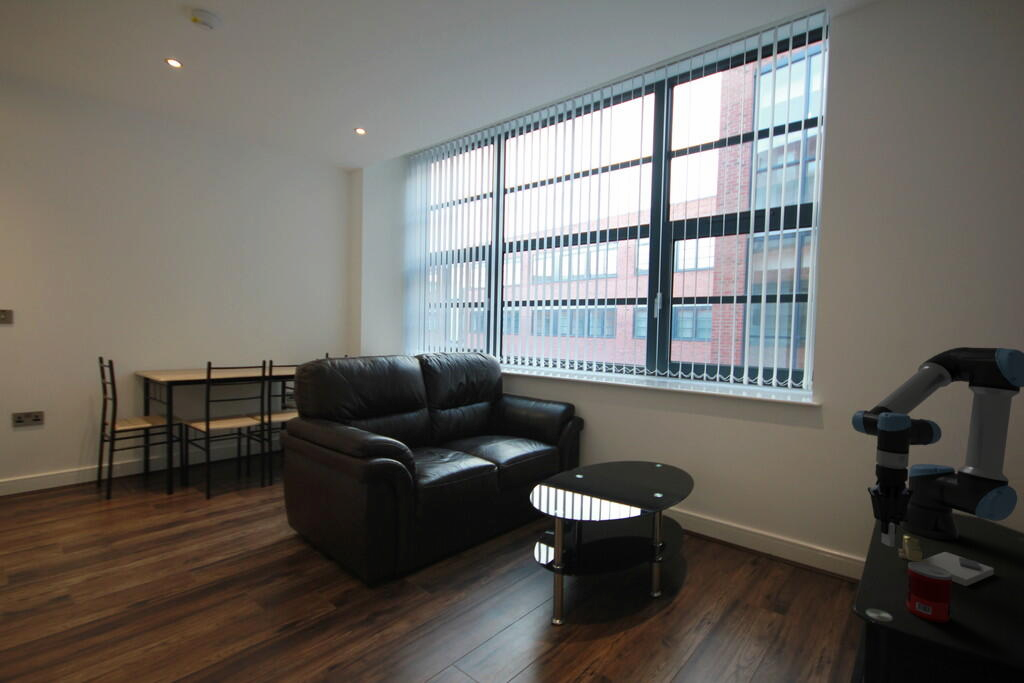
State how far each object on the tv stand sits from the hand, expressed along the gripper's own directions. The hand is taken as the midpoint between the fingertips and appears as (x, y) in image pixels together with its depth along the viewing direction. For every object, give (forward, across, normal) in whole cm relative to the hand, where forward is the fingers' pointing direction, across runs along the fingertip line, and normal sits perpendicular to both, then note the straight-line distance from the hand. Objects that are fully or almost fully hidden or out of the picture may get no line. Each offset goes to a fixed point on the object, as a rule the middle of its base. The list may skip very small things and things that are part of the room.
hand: (887, 544), depth 141 cm
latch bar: (+4, +8, 0) cm, 9 cm away
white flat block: (+5, +16, -6) cm, 18 cm away
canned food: (+6, -14, -25) cm, 29 cm away
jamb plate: (+5, +10, +3) cm, 12 cm away
